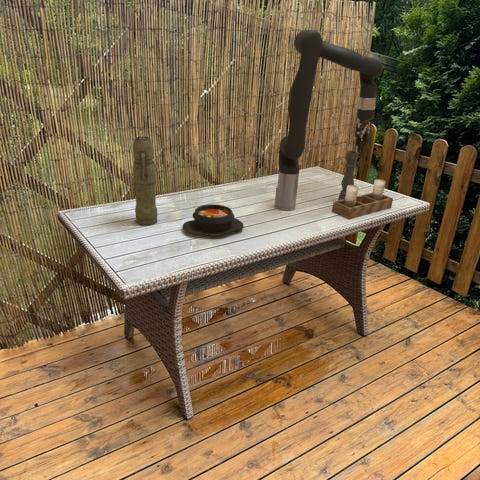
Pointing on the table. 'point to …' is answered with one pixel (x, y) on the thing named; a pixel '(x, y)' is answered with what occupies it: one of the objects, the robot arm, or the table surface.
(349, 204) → the wooden candle tray
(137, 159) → the carved stone statue
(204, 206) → the casserole
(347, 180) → the candle holder
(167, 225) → the table surface
